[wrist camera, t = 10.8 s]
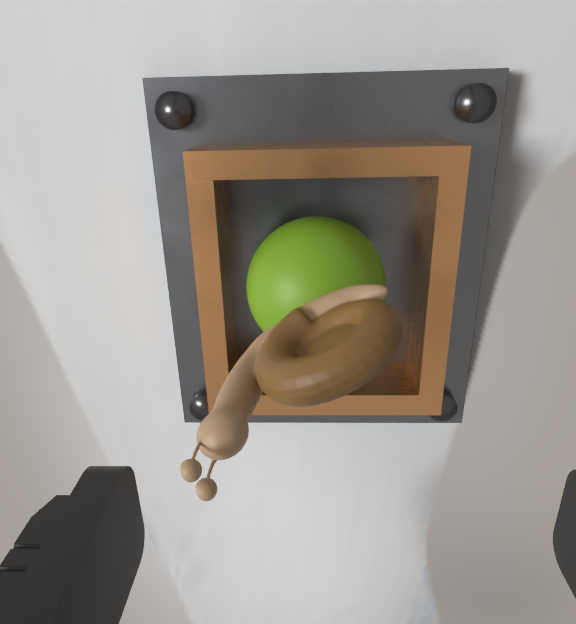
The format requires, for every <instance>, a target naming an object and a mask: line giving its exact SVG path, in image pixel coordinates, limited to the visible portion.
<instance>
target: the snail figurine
mask: <svg viewBox="0 0 576 624" xmlns="http://www.w3.org/2000/svg"><path fill="white" fill-rule="evenodd" d="M246 288H247V298H248V303H249V307H250V310H251V312H252V315H253V317H254V319H255V321H256V322H257V324H258V326H259V327H260V328H261V330H262V331H263V333H262V334H261V335H260V336H259V337H257V338H256V339H255V341H254V342H253V343H252V344H251V345H250V346H249V348H248V349H247V350H246V351H245V353H244V354H243V355H242V356H241V357H240V359H239V360H238V362H237V363H236V364H235V366H234V367H233V369H232V370H231V371H230V373H229V375H228V376H227V378H226V380H225V381H224V383H223V385H222V387H221V389H220V391H219V393H218V396H217V398H216V401H215V404H214V407H213V409H212V411H211V412H210V413H209V414H208V415H207V416H206V417H205V418H204V420H203V421H202V422H201V424H200V426H199V428H198V432H197V446H196V449H195V451H194V453H193V456H192V459H188V460H185V461H184V462H183V463H182V464H181V466H180V474H181V476H182V478H183V479H184V480H185V481H187V482H194V481H196V480H197V479H199V477H200V476H201V473H202V467H201V464H200V463H199V462H198V461H197V460H195V456H196V454H197V451H198V450H199V449H200V451H201V452H202V453H203V454H204V455H205V456H207V457H209V458H211V459H212V462H211V465H210V468H209V470H208V474H207V478H203V479H201V480H199V481H198V482H197V484H196V487H195V490H196V494H197V496H198V497H199V498H200V499H201V500H203V501H209V500H211V499H213V498H214V496H215V495H216V493H217V485H216V483H215V482H214V481H213V480H212V479H210V474H211V471H212V468H213V466H214V464H215V462H216V461H217V460H224V459H228V458H230V457H232V456H234V455H236V454H237V453H238V452H239V451H240V450H241V449H242V448H243V446H244V445H245V443H246V441H247V438H248V432H249V429H248V421H249V419H250V417H251V415H252V413H253V411H254V409H255V408H256V406H257V404H258V402H259V400H260V398H261V395H262V393H263V392H264V393H265V394H266V395H267V396H268V397H269V398H270V399H271V400H273V401H274V402H277V403H280V404H283V405H286V406H291V407H308V406H315V405H319V404H323V403H326V402H330V401H333V400H335V399H338V398H340V397H343V396H345V395H347V394H349V393H350V392H352V391H354V390H356V389H358V388H359V387H361V386H362V385H364V384H365V383H367V382H368V381H370V380H371V379H372V378H373V377H374V376H376V375H377V374H378V373H379V372H380V371H381V370H382V369H383V368H384V367H385V366H386V365H387V364H388V363H389V361H390V360H391V359H392V357H393V356H394V354H395V353H396V351H397V349H398V347H399V345H400V342H401V338H402V332H403V326H402V322H401V318H400V315H399V314H398V312H397V311H396V310H395V309H394V308H393V307H392V306H391V305H390V304H388V303H386V302H384V301H385V297H386V296H387V294H388V289H387V288H386V276H385V271H384V267H383V264H382V261H381V258H380V256H379V254H378V252H377V251H376V249H375V247H374V246H373V244H372V243H371V242H370V241H369V240H368V238H367V237H366V236H365V235H363V234H362V233H361V232H360V231H359V230H357V229H356V228H354V227H353V226H351V225H349V224H347V223H345V222H343V221H340V220H337V219H334V218H329V217H321V216H312V217H304V218H299V219H296V220H293V221H290V222H288V223H286V224H284V225H282V226H280V227H279V228H277V229H276V230H274V231H273V232H272V233H271V234H270V235H268V236H267V237H266V238H265V240H264V241H263V242H262V243H261V244H260V246H259V247H258V249H257V250H256V252H255V254H254V256H253V258H252V260H251V263H250V266H249V270H248V275H247V285H246Z"/></svg>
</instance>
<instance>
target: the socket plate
mask: <svg viewBox="0 0 576 624" xmlns="http://www.w3.org/2000/svg"><path fill="white" fill-rule="evenodd" d="M508 73H509V68H496V69H459V70H422V71H385V72H348V73H311V74H274V75H236V76H199V77H162V78H143V86H144V94H145V103H146V111H147V119H148V127H149V135H150V143H151V151H152V159H153V168H154V176H155V184H156V192H157V200H158V208H159V216H160V225H161V233H162V241H163V249H164V257H165V265H166V273H167V281H168V290H169V298H170V306H171V314H172V322H173V330H174V338H175V346H176V355H177V363H178V371H179V379H180V387H181V395H182V403H183V412H184V420H185V422H202V421H203V420H204V418H205V417H206V416H207V415H208V414H209V413H210V412H211V411H212V409H213V407H214V404H215V401H216V398H217V396H218V393H219V391H220V389H221V387H222V385H223V383H224V381H225V380H226V378H227V376H228V375H229V373H230V371H231V370H232V369H233V367H234V366H235V364H236V363H237V362H238V360H239V359H240V357H241V356H242V355H243V354H244V353H245V351H246V350H247V349H248V348H249V346H250V345H251V344H252V343H253V342H254V341H255V339H256V338H257V337H259V336H260V335H261V334H262V333H263V331H262V330H261V328H260V327H259V326H258V324H257V322H256V321H255V319H254V317H253V315H252V312H251V310H250V307H249V303H248V298H247V288H246V285H247V275H248V270H249V266H250V263H251V260H252V258H253V256H254V254H255V252H256V250H257V249H258V247H259V246H260V244H261V243H262V242H263V241H264V240H265V238H266V237H267V236H268V235H270V234H271V233H272V232H273V231H274V230H276V229H277V228H279V227H280V226H282V225H284V224H286V223H288V222H290V221H293V220H296V219H299V218H304V217H312V216H321V217H329V218H334V219H337V220H340V221H343V222H345V223H347V224H349V225H351V226H353V227H354V228H356V229H357V230H359V231H360V232H361V233H362V234H363V235H365V236H366V237H367V238H368V240H369V241H370V242H371V243H372V244H373V246H374V247H375V249H376V251H377V252H378V254H379V256H380V258H381V261H382V264H383V267H384V271H385V276H386V288H387V289H388V294H387V296H386V297H385V301H384V302H386V303H388V304H390V305H391V306H392V307H393V308H394V309H395V310H396V311H397V312H398V314H399V315H400V318H401V322H402V326H403V332H402V338H401V342H400V345H399V347H398V349H397V351H396V353H395V354H394V356H393V357H392V359H391V360H390V361H389V363H388V364H387V365H386V366H385V367H384V368H383V369H382V370H381V371H380V372H379V373H378V374H377V375H376V376H374V377H373V378H372V379H371V380H370V381H368V382H367V383H365V384H364V385H362V386H361V387H359V388H358V389H356V390H354V391H352V392H350V393H349V394H347V395H345V396H343V397H340V398H338V399H335V400H333V401H330V402H326V403H323V404H319V405H315V406H308V407H291V406H286V405H283V404H280V403H277V402H274V401H273V400H271V399H270V398H269V397H268V396H267V395H266V394H265V393H264V392H263V393H262V395H261V398H260V400H259V402H258V404H257V406H256V408H255V409H254V411H253V413H252V415H251V417H250V419H249V421H248V422H318V423H461V422H462V417H463V409H464V402H465V394H466V387H467V379H468V372H469V364H470V357H471V349H472V342H473V334H474V327H475V319H476V312H477V304H478V297H479V289H480V282H481V275H482V267H483V260H484V252H485V245H486V237H487V230H488V222H489V215H490V207H491V200H492V192H493V185H494V177H495V170H496V162H497V155H498V147H499V140H500V132H501V125H502V118H503V110H504V103H505V95H506V88H507V80H508Z"/></svg>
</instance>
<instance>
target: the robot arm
mask: <svg viewBox="0 0 576 624" xmlns="http://www.w3.org/2000/svg"><path fill="white" fill-rule="evenodd" d="M553 546H554V552H555V556H556V560H557V563H558V565H559V568H560V570H561V571H562V574H563V576H564V577H565V579H566V581H567V583H568V585H569V587H570V589H571V590H572V592H573V594H574V596H575V598H576V470H572V471H571V472H570V473H569V475H568V477H567V480H566V484H565V488H564V492H563V496H562V500H561V504H560V508H559V512H558V516H557V520H556V524H555V527H554V532H553ZM143 548H144V523H143V518H142V512H141V507H140V502H139V496H138V491H137V486H136V480H135V475H134V472H133V469H132V468H131V467H129V466H90V467H88V468H87V469H86V470H85V471H84V472H83V474H82V476H81V477H80V479H79V481H78V483H77V484H76V486H75V488H74V489H73V491H72V493H71V495H57V496H55V497H54V498H53V499H52V500H51V501H50V502H48V503H47V504H46V505H45V506H44V507H43V508H42V509H40V510H39V511H38V512H37V513H36V514H35V515H33V516H32V517H31V519H30V520H29V522H28V523H27V525H26V526H25V528H24V529H23V531H22V532H21V534H20V535H19V537H18V539H17V540H16V542H15V543H14V548H13V549H11V550H10V551H9V553H8V554H7V555H6V557H5V559H4V560H3V562H2V563H1V565H0V624H119V621H120V618H121V616H122V613H123V610H124V607H125V604H126V601H127V599H128V596H129V593H130V590H131V587H132V585H133V582H134V579H135V576H136V573H137V570H138V568H139V564H140V561H141V558H142V553H143Z"/></svg>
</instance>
